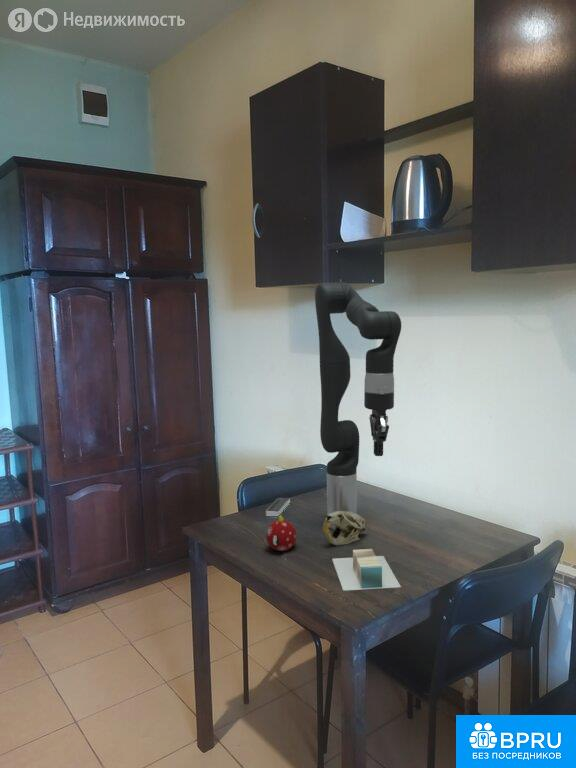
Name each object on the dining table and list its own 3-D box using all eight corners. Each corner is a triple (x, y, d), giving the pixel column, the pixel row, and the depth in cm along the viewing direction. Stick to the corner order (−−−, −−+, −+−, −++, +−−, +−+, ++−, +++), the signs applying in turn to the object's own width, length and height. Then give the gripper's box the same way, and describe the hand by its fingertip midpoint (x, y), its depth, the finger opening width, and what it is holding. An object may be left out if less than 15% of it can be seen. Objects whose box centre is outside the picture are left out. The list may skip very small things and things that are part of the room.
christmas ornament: (302, 546, 165) (301, 513, 163) (288, 558, 157) (287, 523, 156) (275, 542, 168) (274, 509, 167) (261, 553, 161) (260, 518, 160)
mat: (332, 560, 155) (332, 558, 155) (383, 557, 156) (383, 555, 156) (343, 592, 137) (343, 590, 137) (401, 589, 138) (401, 587, 138)
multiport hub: (265, 517, 190) (265, 511, 190) (278, 503, 204) (278, 497, 203) (278, 518, 189) (278, 512, 188) (290, 504, 202) (290, 498, 202)
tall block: (352, 549, 148) (361, 568, 137) (371, 548, 148) (382, 567, 137) (353, 568, 148) (361, 588, 138) (372, 567, 149) (382, 587, 138)
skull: (307, 540, 164) (314, 506, 164) (342, 540, 175) (349, 507, 176) (333, 551, 157) (340, 515, 157) (367, 550, 168) (374, 516, 169)
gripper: (360, 386, 153) (359, 449, 156) (369, 394, 140) (368, 462, 143) (387, 385, 154) (386, 448, 156) (400, 393, 141) (398, 462, 143)
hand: (378, 455), depth 150 cm, fingers closed
